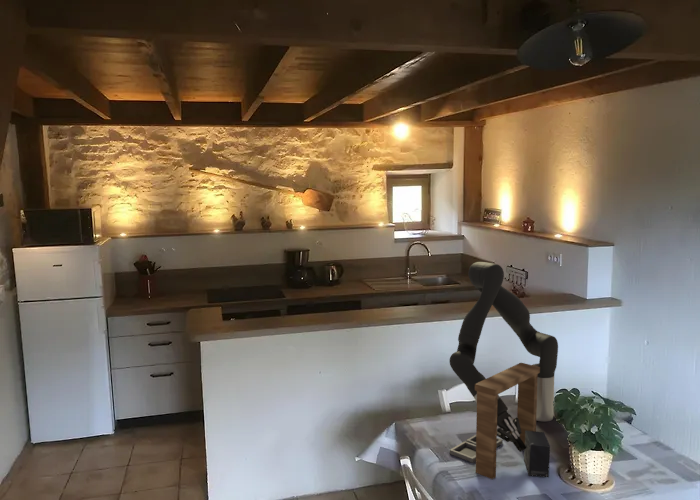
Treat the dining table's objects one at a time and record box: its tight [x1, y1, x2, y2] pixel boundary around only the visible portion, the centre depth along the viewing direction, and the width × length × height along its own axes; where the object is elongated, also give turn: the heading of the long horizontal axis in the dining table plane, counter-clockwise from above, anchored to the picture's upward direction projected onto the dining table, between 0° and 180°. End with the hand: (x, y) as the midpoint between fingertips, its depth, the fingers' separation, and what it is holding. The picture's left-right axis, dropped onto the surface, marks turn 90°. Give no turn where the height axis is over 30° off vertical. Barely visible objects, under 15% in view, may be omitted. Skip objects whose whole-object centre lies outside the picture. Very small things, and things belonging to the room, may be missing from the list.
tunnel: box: [475, 362, 540, 480], centre depth 182 cm, size 29×7×29 cm, turn 135°
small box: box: [523, 430, 551, 478], centre depth 177 cm, size 11×6×10 cm, turn 171°
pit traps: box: [449, 434, 504, 464], centre depth 192 cm, size 19×9×2 cm, turn 135°
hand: (523, 450), depth 179 cm, fingers closed
